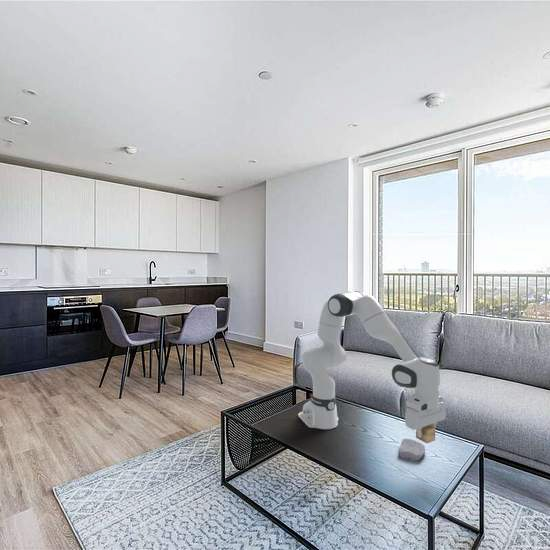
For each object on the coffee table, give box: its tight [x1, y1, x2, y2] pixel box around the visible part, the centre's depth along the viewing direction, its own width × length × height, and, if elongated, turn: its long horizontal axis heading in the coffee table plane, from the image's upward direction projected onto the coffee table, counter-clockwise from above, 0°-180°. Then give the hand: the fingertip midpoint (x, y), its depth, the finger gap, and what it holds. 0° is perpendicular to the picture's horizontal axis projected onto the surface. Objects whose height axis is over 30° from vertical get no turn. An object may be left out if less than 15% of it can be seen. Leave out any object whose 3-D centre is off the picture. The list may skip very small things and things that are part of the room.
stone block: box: [398, 437, 426, 462], centre depth 149 cm, size 12×5×10 cm
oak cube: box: [415, 425, 436, 444], centre depth 137 cm, size 5×5×5 cm
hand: (425, 434), depth 137 cm, fingers closed on oak cube, 5 cm apart
